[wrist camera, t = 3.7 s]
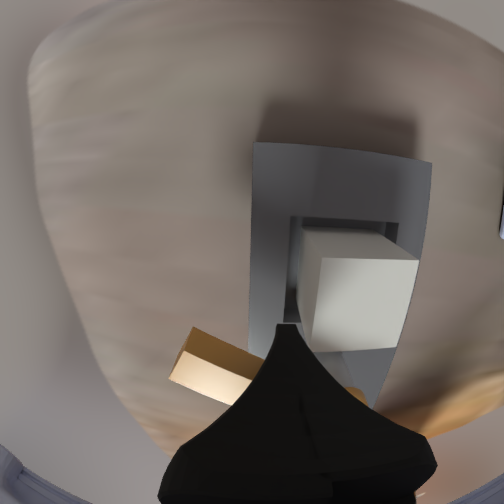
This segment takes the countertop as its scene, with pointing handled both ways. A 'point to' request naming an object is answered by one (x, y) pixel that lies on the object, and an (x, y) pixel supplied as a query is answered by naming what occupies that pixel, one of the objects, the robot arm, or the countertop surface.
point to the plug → (352, 288)
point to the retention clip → (220, 368)
